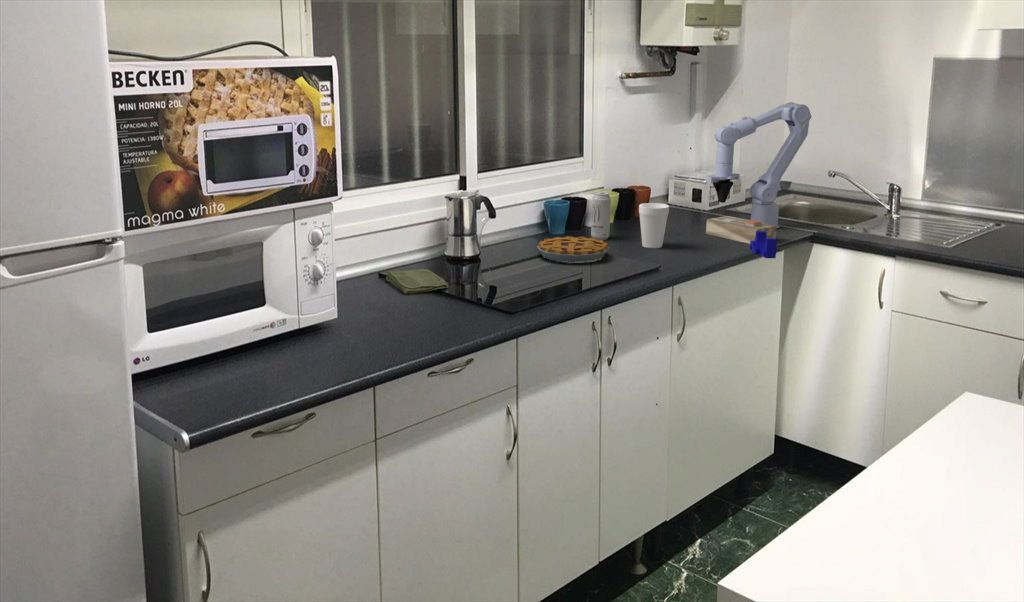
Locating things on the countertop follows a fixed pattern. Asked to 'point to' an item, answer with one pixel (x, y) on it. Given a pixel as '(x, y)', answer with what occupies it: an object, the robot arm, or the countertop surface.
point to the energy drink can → (600, 216)
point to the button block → (737, 229)
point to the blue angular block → (764, 245)
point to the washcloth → (416, 281)
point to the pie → (572, 248)
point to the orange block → (753, 223)
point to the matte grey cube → (729, 220)
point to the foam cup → (653, 223)
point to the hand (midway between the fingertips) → (721, 202)
